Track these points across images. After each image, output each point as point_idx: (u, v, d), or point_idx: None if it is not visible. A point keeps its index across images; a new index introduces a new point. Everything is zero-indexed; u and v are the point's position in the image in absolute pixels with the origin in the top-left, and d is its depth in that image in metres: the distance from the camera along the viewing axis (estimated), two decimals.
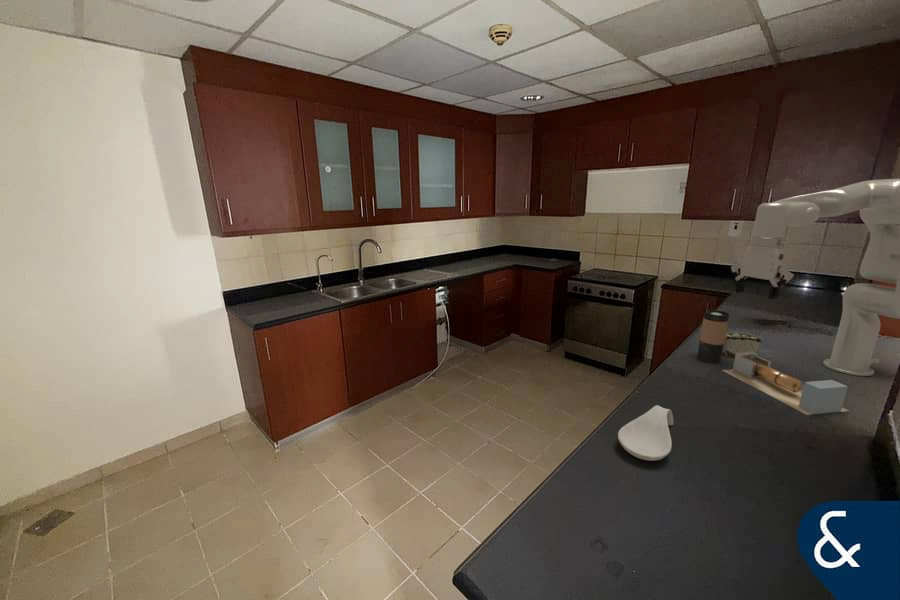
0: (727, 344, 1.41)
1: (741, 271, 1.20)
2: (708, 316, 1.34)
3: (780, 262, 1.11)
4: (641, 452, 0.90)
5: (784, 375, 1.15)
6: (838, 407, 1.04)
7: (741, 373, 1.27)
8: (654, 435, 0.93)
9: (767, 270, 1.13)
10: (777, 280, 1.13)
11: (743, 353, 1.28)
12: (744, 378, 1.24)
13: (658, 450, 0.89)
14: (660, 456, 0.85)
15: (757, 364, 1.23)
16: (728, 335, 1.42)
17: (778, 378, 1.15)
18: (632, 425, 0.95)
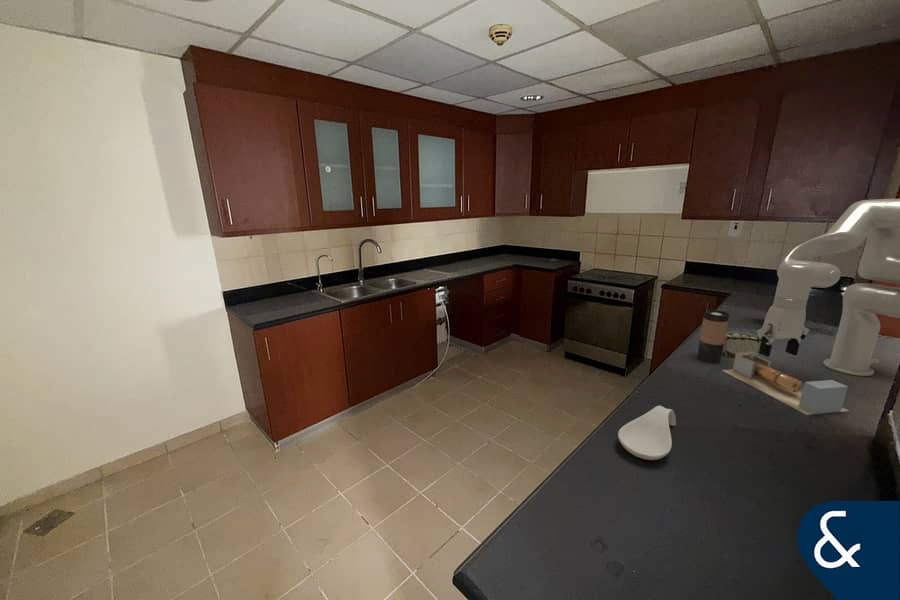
0: (727, 344, 1.41)
1: (776, 335, 1.12)
2: (708, 316, 1.34)
3: None
4: (641, 451, 0.90)
5: (784, 375, 1.15)
6: (838, 407, 1.04)
7: (741, 373, 1.27)
8: (655, 435, 0.93)
9: (799, 330, 1.13)
10: None
11: (743, 353, 1.28)
12: (744, 378, 1.24)
13: (658, 449, 0.89)
14: (659, 455, 0.85)
15: (757, 364, 1.23)
16: (728, 335, 1.42)
17: (778, 378, 1.15)
18: (633, 424, 0.96)
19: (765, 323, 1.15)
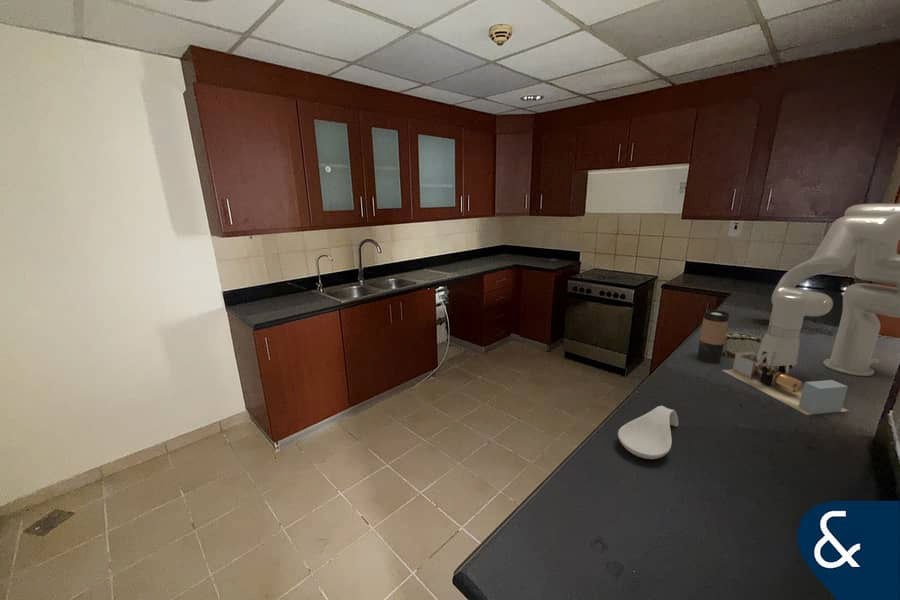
0: (727, 344, 1.41)
1: (771, 363, 1.15)
2: (708, 316, 1.34)
3: None
4: (640, 450, 0.90)
5: (784, 375, 1.15)
6: (838, 407, 1.04)
7: (741, 373, 1.27)
8: (655, 434, 0.93)
9: (794, 357, 1.15)
10: None
11: (743, 353, 1.28)
12: (744, 378, 1.24)
13: (658, 449, 0.90)
14: (658, 454, 0.85)
15: None
16: (728, 335, 1.42)
17: (778, 378, 1.15)
18: (634, 424, 0.96)
19: (760, 350, 1.18)
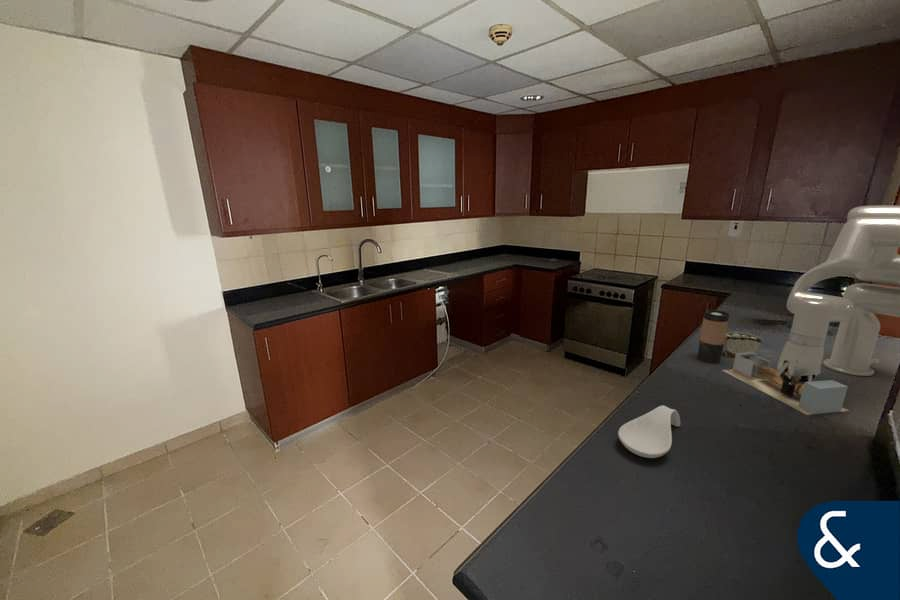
0: (727, 344, 1.41)
1: (793, 372, 1.08)
2: (708, 316, 1.34)
3: None
4: (640, 449, 0.91)
5: None
6: (838, 407, 1.04)
7: (741, 373, 1.27)
8: (656, 434, 0.93)
9: (817, 366, 1.08)
10: None
11: (743, 353, 1.28)
12: (744, 378, 1.24)
13: (658, 448, 0.90)
14: (658, 453, 0.85)
15: None
16: (728, 335, 1.42)
17: (801, 389, 1.09)
18: (635, 423, 0.96)
19: (781, 359, 1.11)
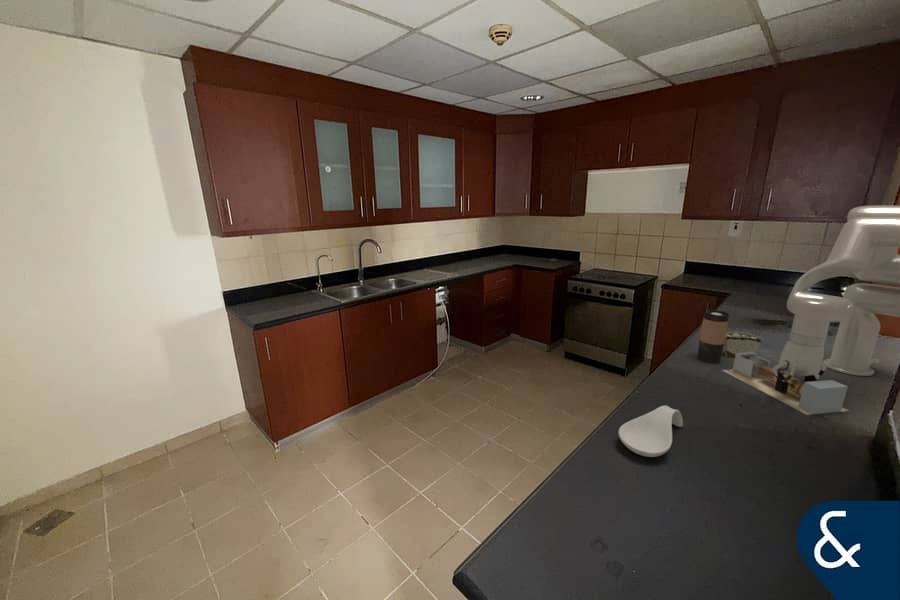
0: (727, 344, 1.41)
1: (794, 372, 1.08)
2: (708, 316, 1.34)
3: None
4: (640, 448, 0.91)
5: None
6: (838, 407, 1.04)
7: (741, 373, 1.27)
8: (657, 433, 0.94)
9: (818, 366, 1.08)
10: None
11: (743, 353, 1.28)
12: (744, 378, 1.24)
13: (658, 448, 0.90)
14: (657, 453, 0.86)
15: None
16: (728, 335, 1.42)
17: (801, 389, 1.09)
18: (636, 422, 0.97)
19: (781, 359, 1.11)
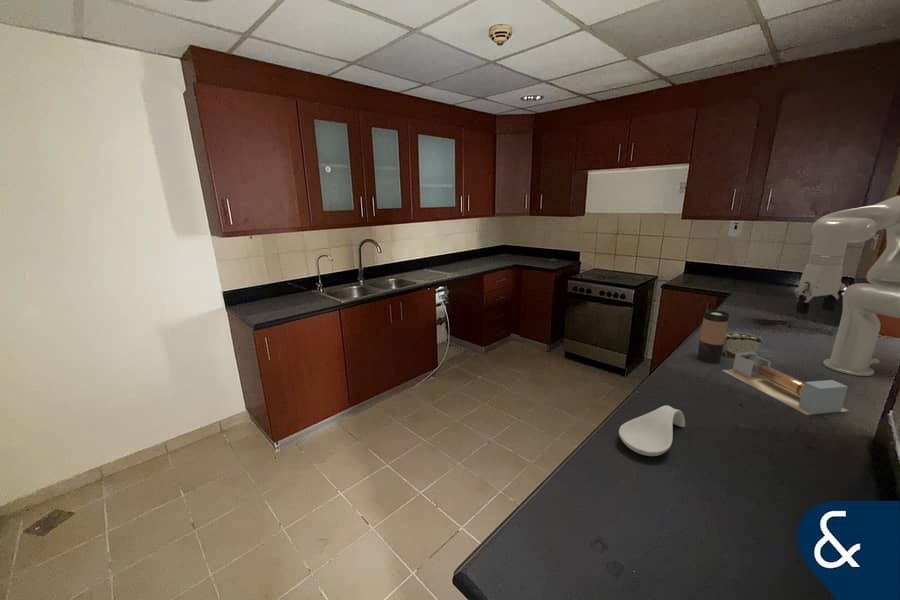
0: (727, 344, 1.41)
1: (814, 292, 1.14)
2: (708, 316, 1.34)
3: None
4: (640, 447, 0.91)
5: None
6: (838, 407, 1.04)
7: (741, 373, 1.27)
8: (658, 433, 0.94)
9: (837, 285, 1.14)
10: None
11: (743, 353, 1.28)
12: (744, 378, 1.24)
13: (659, 447, 0.90)
14: (656, 452, 0.86)
15: (777, 373, 1.16)
16: (728, 335, 1.42)
17: (801, 389, 1.09)
18: (637, 421, 0.97)
19: (802, 282, 1.17)
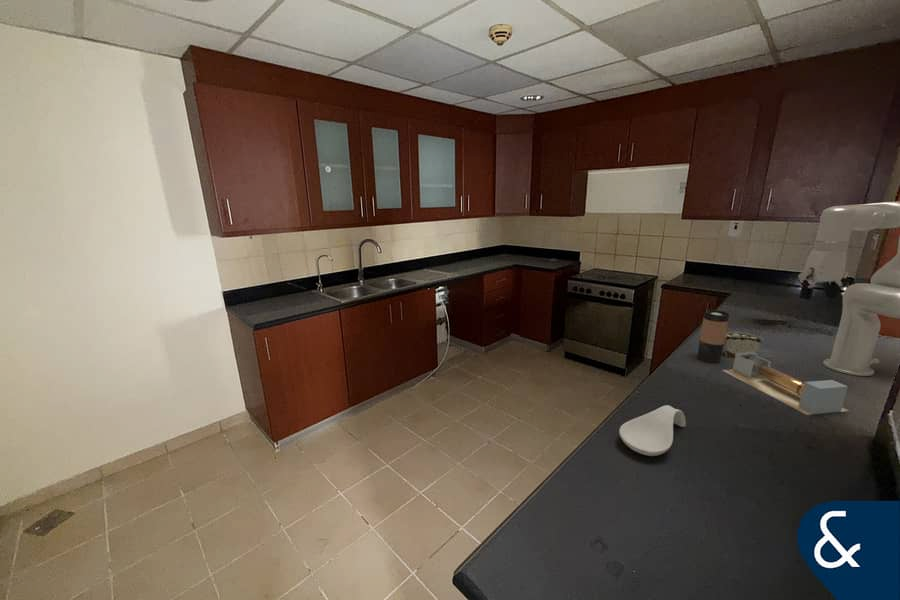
0: (727, 344, 1.41)
1: (818, 278, 1.16)
2: (708, 316, 1.34)
3: None
4: (641, 447, 0.91)
5: None
6: (838, 407, 1.04)
7: (741, 373, 1.27)
8: (658, 433, 0.94)
9: (840, 272, 1.17)
10: None
11: (743, 353, 1.28)
12: (744, 378, 1.24)
13: (659, 447, 0.90)
14: (657, 451, 0.86)
15: (777, 373, 1.16)
16: (728, 335, 1.42)
17: (801, 389, 1.09)
18: (637, 421, 0.97)
19: (806, 268, 1.19)
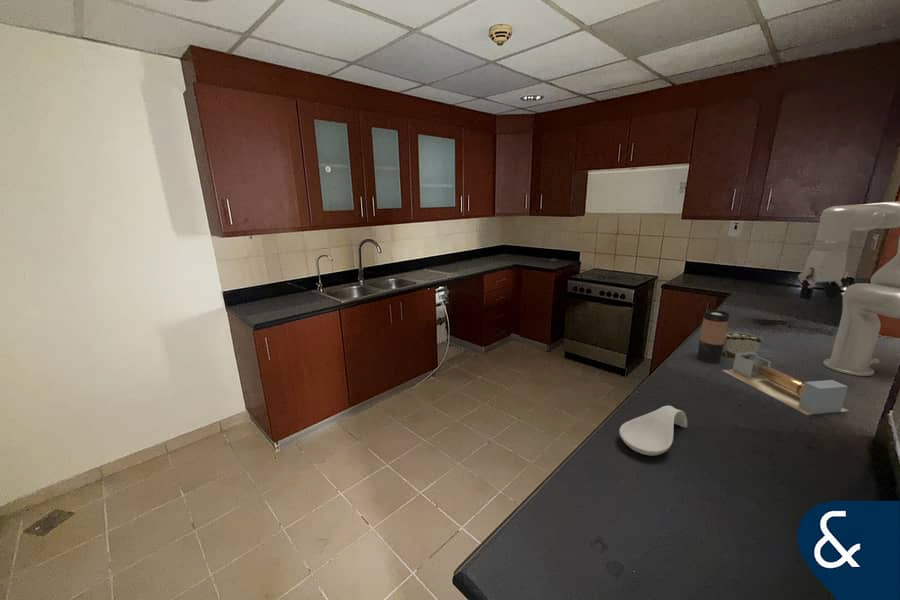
0: (727, 344, 1.41)
1: (818, 278, 1.16)
2: (708, 316, 1.34)
3: None
4: (641, 447, 0.92)
5: None
6: (838, 407, 1.04)
7: (741, 373, 1.27)
8: (659, 433, 0.94)
9: (840, 272, 1.17)
10: None
11: (743, 353, 1.28)
12: (744, 378, 1.24)
13: (659, 447, 0.90)
14: (656, 451, 0.86)
15: (777, 373, 1.16)
16: (728, 335, 1.42)
17: (801, 389, 1.09)
18: (638, 421, 0.97)
19: (806, 268, 1.19)
